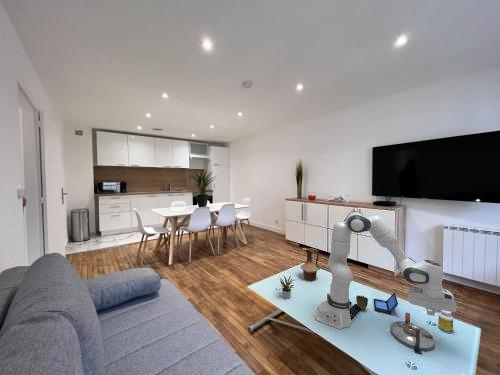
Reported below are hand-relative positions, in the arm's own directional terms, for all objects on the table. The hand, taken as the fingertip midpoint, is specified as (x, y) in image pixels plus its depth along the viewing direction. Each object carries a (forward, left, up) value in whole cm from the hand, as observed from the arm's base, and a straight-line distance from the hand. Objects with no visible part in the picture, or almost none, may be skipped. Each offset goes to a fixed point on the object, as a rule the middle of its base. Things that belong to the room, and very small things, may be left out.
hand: (430, 314), depth 116 cm
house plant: (-83, +13, -16) cm, 86 cm away
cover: (-9, 0, -13) cm, 15 cm away
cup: (-32, +18, -16) cm, 40 cm away
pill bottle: (+12, +15, -16) cm, 25 cm away
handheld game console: (-18, +26, -16) cm, 35 cm away
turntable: (-8, 0, -14) cm, 17 cm away
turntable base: (-8, 0, -15) cm, 18 cm away
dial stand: (-8, -9, -15) cm, 20 cm away
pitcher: (-72, +50, -16) cm, 89 cm away
